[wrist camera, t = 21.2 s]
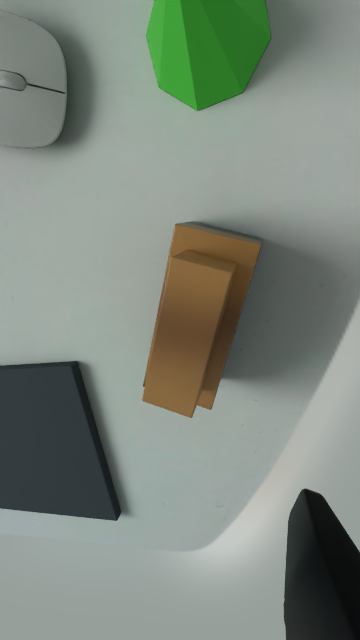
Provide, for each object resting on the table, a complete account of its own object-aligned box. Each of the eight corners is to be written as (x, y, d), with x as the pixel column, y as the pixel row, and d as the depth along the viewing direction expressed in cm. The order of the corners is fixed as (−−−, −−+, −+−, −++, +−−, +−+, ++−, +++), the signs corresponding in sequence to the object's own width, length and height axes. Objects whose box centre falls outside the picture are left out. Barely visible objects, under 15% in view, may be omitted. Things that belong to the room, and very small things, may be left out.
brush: (220, 379, 20) (202, 441, 15) (161, 360, 21) (124, 412, 16) (262, 238, 17) (259, 251, 12) (191, 221, 18) (157, 226, 12)
